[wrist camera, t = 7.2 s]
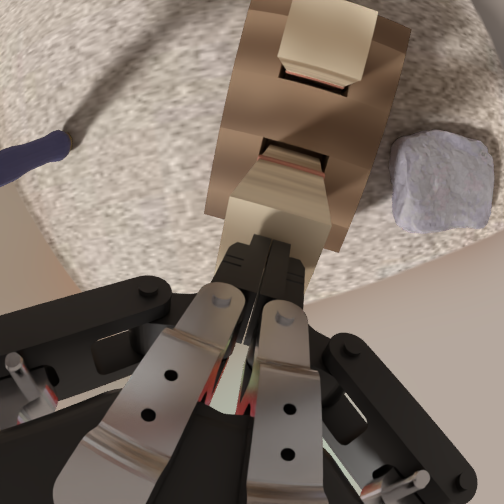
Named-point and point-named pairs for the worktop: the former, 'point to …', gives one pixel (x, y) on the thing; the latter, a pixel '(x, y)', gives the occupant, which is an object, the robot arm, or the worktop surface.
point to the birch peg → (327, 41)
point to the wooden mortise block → (304, 114)
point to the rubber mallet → (33, 155)
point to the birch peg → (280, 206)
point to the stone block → (440, 182)
